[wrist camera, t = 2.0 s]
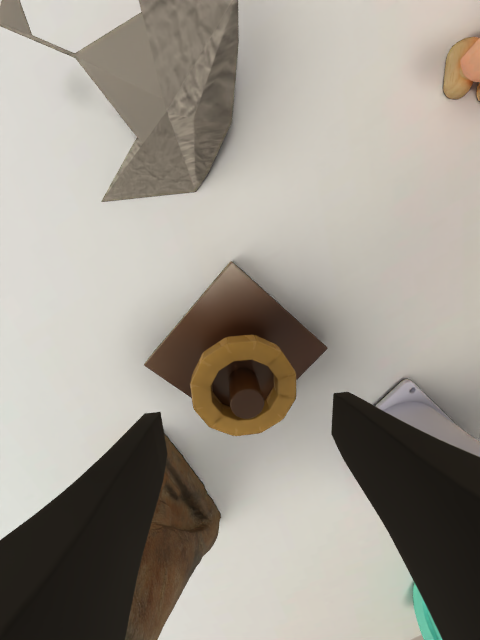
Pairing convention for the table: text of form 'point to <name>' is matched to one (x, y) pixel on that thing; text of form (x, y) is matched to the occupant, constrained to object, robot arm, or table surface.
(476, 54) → the grandmother figurine
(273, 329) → the peg stand
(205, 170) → the paper boat
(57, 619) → the robot arm
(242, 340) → the brass ring
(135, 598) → the worn brown figurine
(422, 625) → the decorative dice
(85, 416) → the table surface
